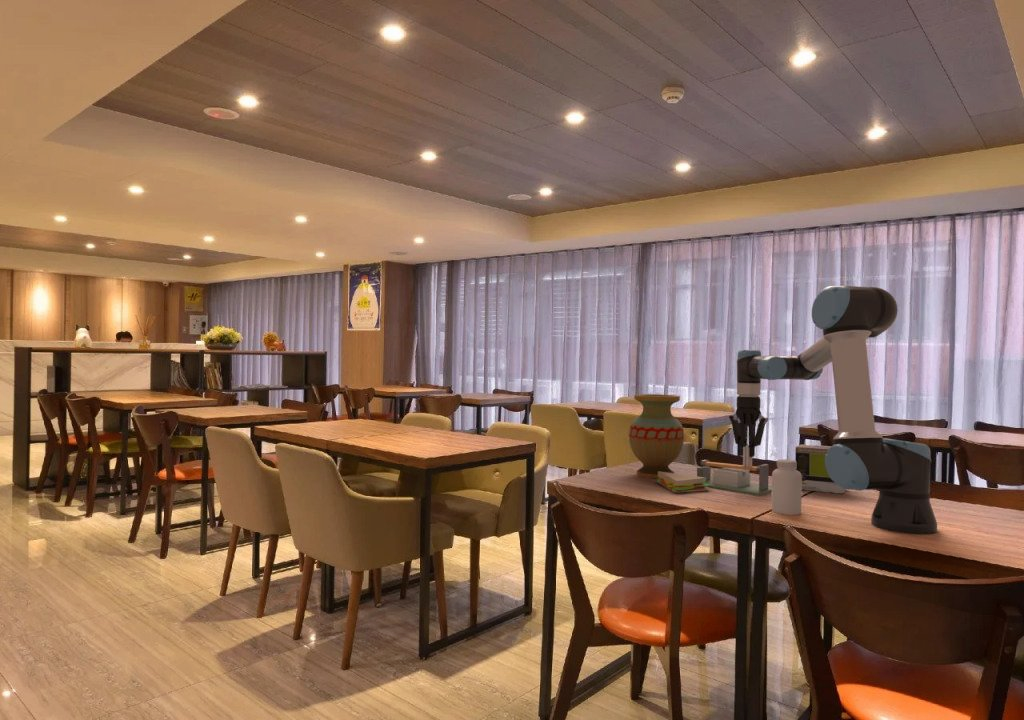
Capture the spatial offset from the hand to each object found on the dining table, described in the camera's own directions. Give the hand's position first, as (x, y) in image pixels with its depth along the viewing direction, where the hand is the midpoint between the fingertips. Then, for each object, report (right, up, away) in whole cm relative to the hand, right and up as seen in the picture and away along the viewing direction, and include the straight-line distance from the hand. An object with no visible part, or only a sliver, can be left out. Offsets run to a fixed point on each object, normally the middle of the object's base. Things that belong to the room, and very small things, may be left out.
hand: (747, 466), depth 229 cm
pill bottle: (0, -8, -33) cm, 34 cm away
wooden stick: (-5, -2, +5) cm, 7 cm away
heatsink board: (-4, -8, +4) cm, 10 cm away
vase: (-26, -8, +22) cm, 35 cm away
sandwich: (-23, -8, 0) cm, 24 cm away
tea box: (+26, -9, +3) cm, 27 cm away
